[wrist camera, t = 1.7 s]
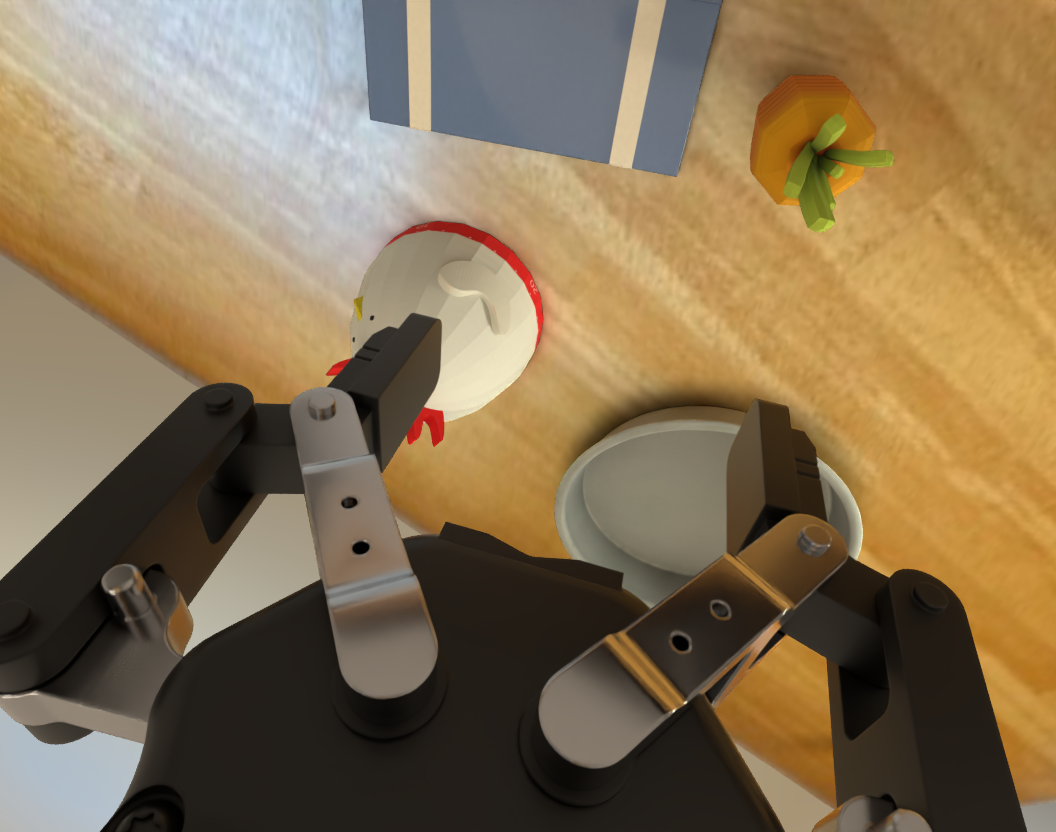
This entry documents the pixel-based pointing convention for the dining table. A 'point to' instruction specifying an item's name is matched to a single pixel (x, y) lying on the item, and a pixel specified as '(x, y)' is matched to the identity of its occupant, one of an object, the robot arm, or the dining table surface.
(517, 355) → the kitchen timer
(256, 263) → the dining table surface
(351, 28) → the dining table surface
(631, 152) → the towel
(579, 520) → the cake pan
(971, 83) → the dining table surface
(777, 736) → the dining table surface
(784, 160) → the carrot
